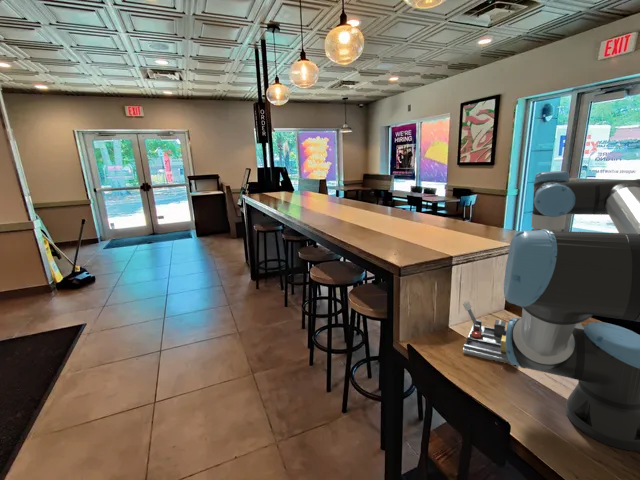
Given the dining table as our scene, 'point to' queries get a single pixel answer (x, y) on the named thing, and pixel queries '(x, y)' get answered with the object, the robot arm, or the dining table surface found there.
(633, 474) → the dining table surface
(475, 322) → the lever
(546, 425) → the dining table surface
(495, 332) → the slider black
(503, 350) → the slider brass
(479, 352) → the panel
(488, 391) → the dining table surface
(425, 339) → the dining table surface
